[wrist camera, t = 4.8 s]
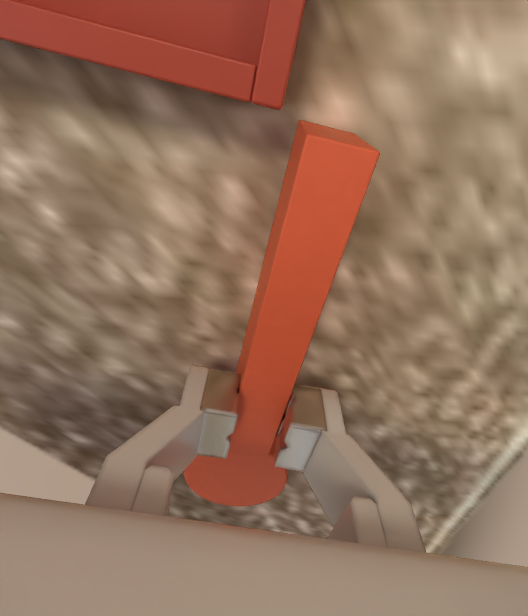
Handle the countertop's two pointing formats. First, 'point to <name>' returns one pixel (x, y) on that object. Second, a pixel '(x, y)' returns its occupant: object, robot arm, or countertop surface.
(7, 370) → the countertop surface
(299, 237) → the red spoon
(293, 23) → the red tray
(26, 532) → the robot arm
